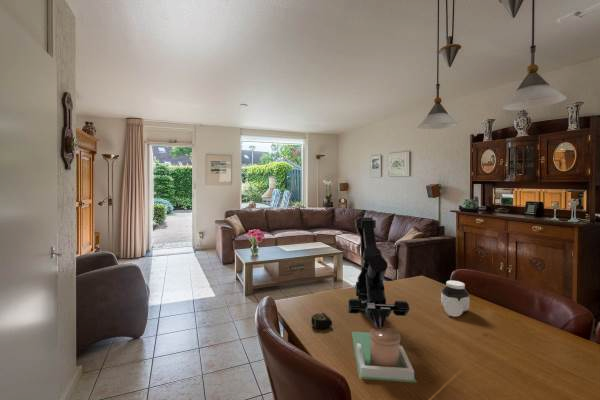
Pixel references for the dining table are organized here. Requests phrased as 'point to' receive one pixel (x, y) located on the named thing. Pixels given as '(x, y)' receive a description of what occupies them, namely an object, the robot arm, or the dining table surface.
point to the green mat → (364, 340)
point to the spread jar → (455, 298)
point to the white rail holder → (386, 372)
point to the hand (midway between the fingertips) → (380, 335)
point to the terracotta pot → (384, 347)
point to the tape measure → (321, 321)
